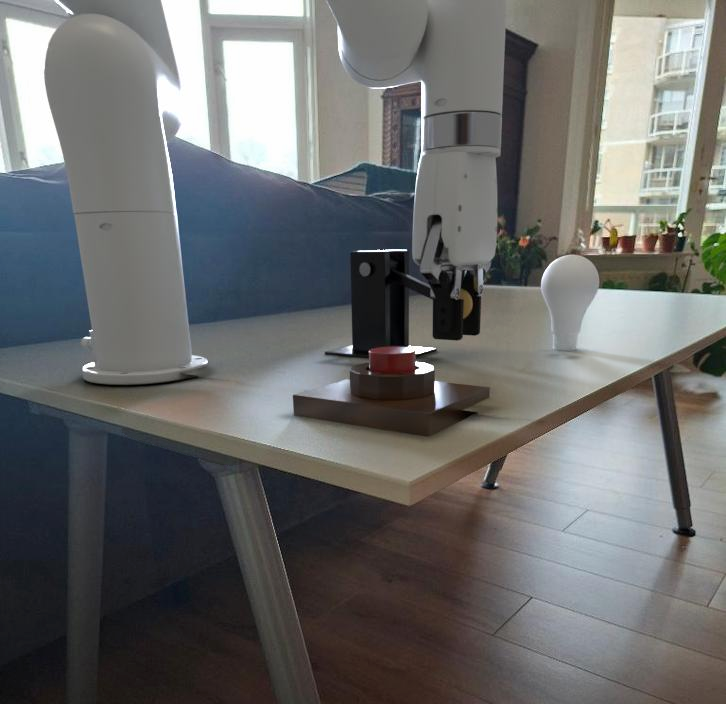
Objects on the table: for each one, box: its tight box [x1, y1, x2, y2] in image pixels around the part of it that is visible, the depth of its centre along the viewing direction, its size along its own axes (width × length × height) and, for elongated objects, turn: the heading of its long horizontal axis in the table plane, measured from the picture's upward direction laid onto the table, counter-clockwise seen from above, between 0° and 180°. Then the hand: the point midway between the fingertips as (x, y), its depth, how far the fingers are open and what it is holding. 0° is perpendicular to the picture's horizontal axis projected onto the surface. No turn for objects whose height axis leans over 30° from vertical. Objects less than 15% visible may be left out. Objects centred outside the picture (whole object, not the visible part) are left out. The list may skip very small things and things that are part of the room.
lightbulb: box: [540, 254, 600, 352], centre depth 74 cm, size 6×6×11 cm
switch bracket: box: [324, 249, 438, 360], centre depth 74 cm, size 10×8×12 cm
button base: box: [292, 361, 491, 438], centre depth 52 cm, size 12×10×4 cm
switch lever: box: [390, 258, 473, 319], centre depth 70 cm, size 13×3×3 cm, turn 56°
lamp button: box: [368, 347, 417, 373], centre depth 51 cm, size 4×4×2 cm
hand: (456, 335), depth 69 cm, fingers closed on switch lever, 3 cm apart
